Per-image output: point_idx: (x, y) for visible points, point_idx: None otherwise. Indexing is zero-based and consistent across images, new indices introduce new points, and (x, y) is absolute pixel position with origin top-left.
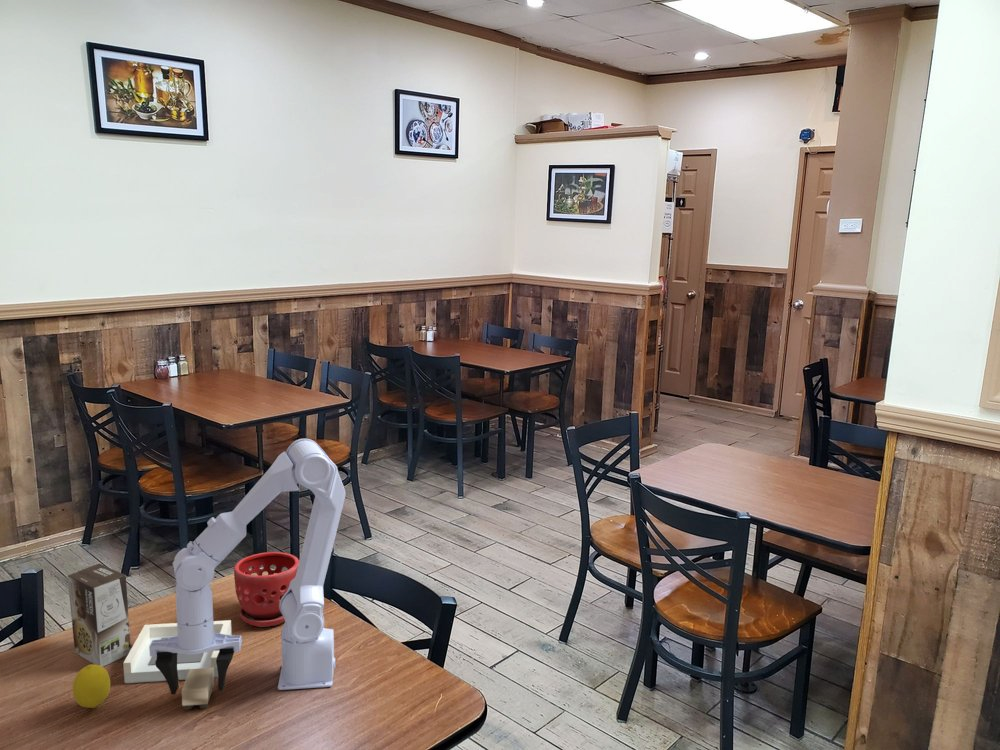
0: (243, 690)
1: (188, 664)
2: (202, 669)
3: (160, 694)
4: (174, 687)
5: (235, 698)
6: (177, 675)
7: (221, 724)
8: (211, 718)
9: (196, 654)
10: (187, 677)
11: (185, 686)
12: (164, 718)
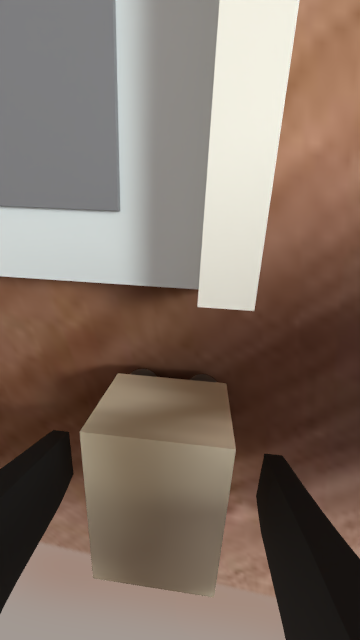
0: (346, 399)
1: (53, 228)
2: (162, 454)
3: (17, 358)
4: (52, 513)
5: (310, 440)
6: (27, 477)
7: (261, 542)
8: (228, 513)
9: (67, 101)
10: (91, 503)
11: (104, 560)
12: (81, 481)
